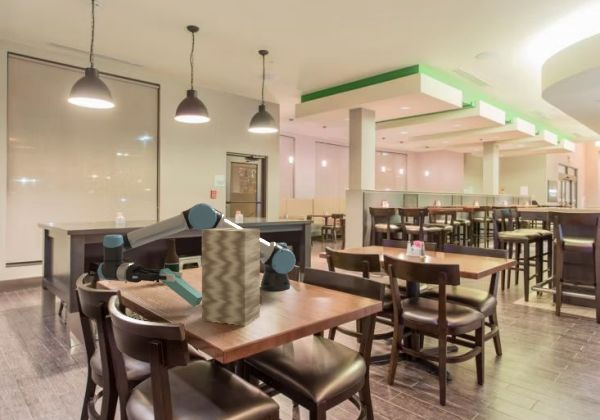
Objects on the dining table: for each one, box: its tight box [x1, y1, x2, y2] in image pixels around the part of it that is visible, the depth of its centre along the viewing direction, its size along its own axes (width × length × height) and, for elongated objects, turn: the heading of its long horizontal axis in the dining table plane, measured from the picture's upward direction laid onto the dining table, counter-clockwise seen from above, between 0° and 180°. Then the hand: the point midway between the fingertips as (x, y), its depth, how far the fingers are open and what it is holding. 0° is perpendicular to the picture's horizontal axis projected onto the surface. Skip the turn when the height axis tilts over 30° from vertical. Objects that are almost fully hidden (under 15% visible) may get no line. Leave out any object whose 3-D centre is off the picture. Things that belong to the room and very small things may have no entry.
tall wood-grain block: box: [201, 227, 261, 327], centre depth 146 cm, size 18×12×34 cm, turn 70°
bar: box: [159, 267, 202, 308], centre depth 154 cm, size 20×4×4 cm
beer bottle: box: [164, 237, 180, 272], centre depth 209 cm, size 8×8×24 cm
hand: (177, 277), depth 154 cm, fingers closed on bar, 4 cm apart
